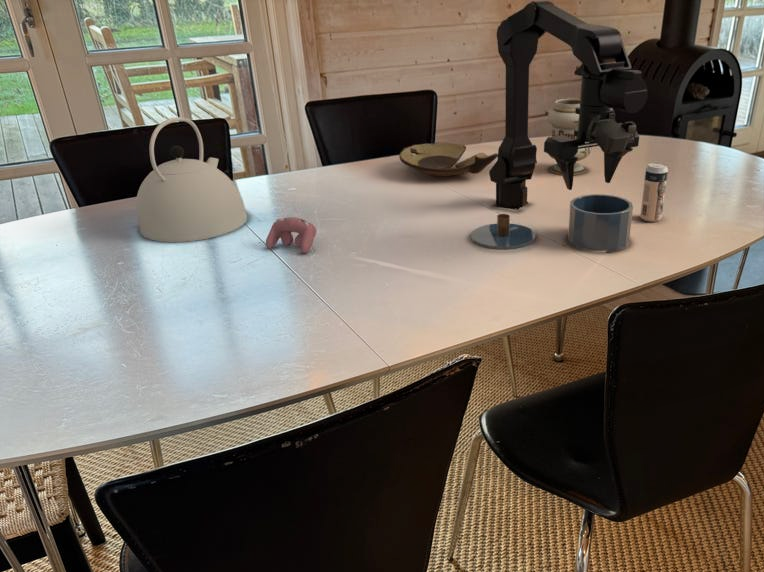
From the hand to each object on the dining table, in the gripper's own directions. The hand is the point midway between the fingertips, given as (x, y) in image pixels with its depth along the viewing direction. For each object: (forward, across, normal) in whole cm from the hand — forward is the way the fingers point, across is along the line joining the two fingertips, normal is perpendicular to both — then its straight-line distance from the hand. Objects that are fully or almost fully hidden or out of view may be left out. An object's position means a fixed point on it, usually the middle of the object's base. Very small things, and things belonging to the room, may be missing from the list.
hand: (588, 186), depth 132 cm
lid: (+11, -14, +9) cm, 20 cm away
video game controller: (+12, -54, +26) cm, 62 cm away
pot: (+12, +2, -2) cm, 12 cm away
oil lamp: (+12, -4, +58) cm, 59 cm away
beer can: (+12, +20, +4) cm, 24 cm away
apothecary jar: (+12, +26, +45) cm, 53 cm away
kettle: (+12, -70, +52) cm, 88 cm away
